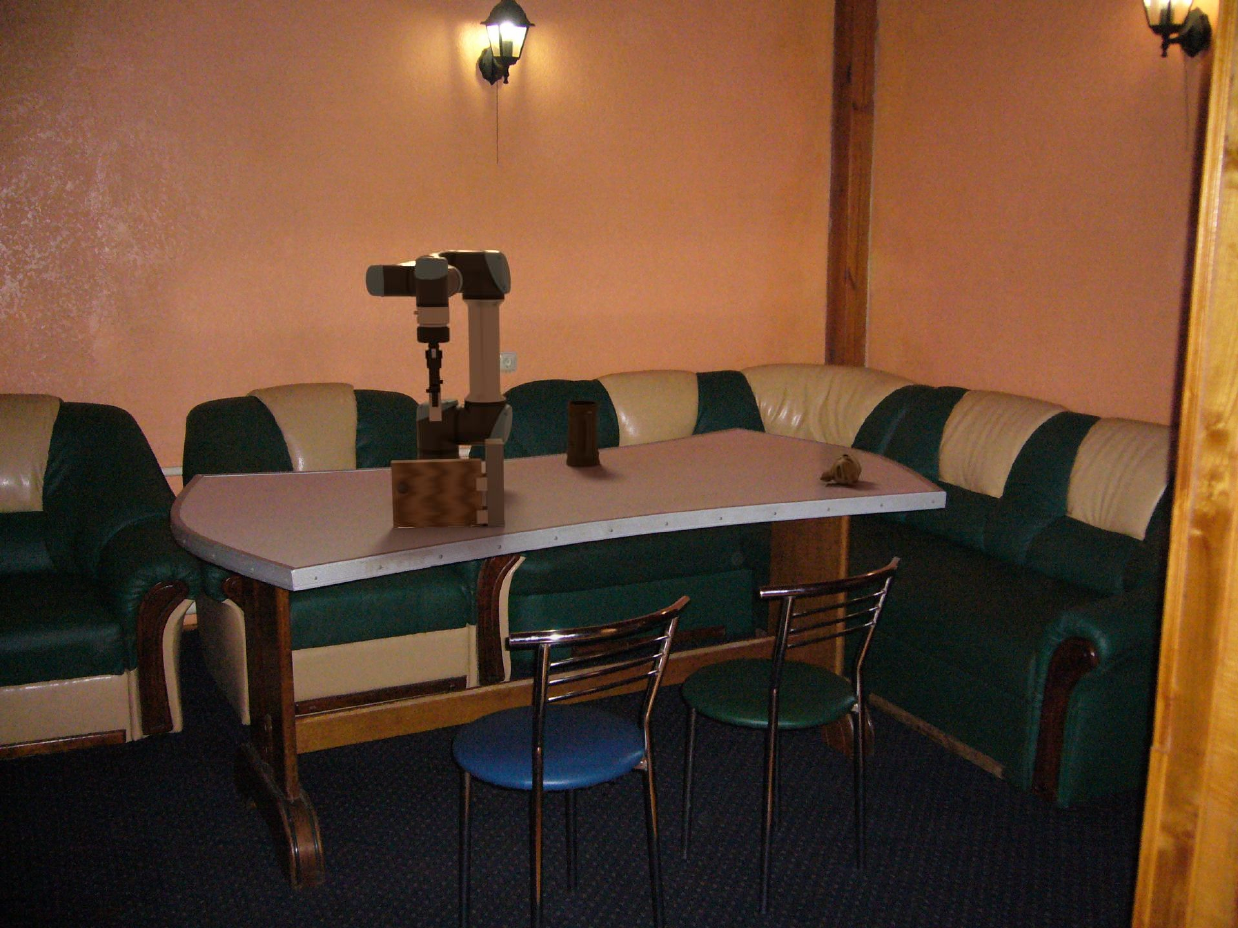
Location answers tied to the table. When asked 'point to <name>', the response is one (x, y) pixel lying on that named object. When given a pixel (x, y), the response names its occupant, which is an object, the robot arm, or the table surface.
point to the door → (435, 492)
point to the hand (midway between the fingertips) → (435, 416)
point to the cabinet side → (492, 484)
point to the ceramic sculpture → (843, 470)
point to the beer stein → (582, 434)
